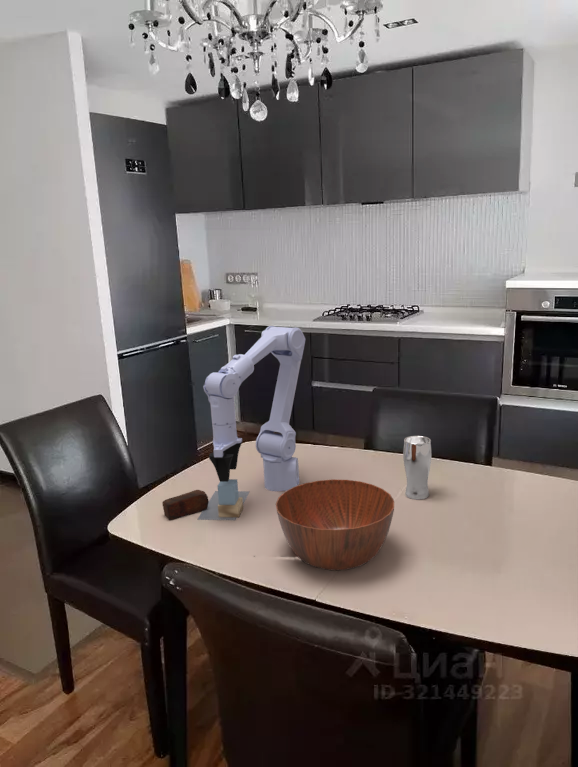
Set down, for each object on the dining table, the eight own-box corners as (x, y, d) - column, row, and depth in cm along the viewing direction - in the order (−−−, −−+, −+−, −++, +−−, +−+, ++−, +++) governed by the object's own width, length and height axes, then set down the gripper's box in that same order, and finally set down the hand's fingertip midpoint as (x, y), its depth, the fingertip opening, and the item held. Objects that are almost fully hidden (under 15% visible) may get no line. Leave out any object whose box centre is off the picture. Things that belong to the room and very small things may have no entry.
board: (249, 494, 161) (249, 491, 161) (235, 523, 145) (235, 520, 144) (215, 493, 162) (215, 490, 162) (197, 522, 146) (197, 519, 146)
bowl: (364, 596, 113) (363, 541, 110) (255, 564, 126) (252, 514, 123) (412, 539, 133) (412, 491, 130) (314, 516, 146) (312, 472, 144)
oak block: (243, 508, 151) (242, 497, 150) (238, 517, 146) (237, 506, 145) (223, 508, 151) (222, 497, 151) (218, 517, 146) (217, 505, 146)
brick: (170, 523, 146) (167, 505, 145) (164, 518, 149) (161, 500, 148) (210, 508, 151) (207, 491, 150) (203, 504, 154) (200, 487, 153)
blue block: (223, 497, 150) (221, 479, 149) (238, 498, 150) (237, 479, 148) (219, 504, 146) (217, 485, 145) (235, 505, 146) (233, 485, 145)
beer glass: (401, 498, 154) (400, 443, 150) (406, 488, 160) (406, 434, 156) (428, 501, 151) (428, 445, 147) (433, 491, 157) (433, 436, 154)
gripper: (233, 431, 137) (237, 486, 140) (246, 413, 151) (250, 464, 154) (203, 431, 138) (207, 486, 141) (219, 413, 152) (223, 463, 155)
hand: (228, 474), depth 147 cm, fingers open, 7 cm apart
